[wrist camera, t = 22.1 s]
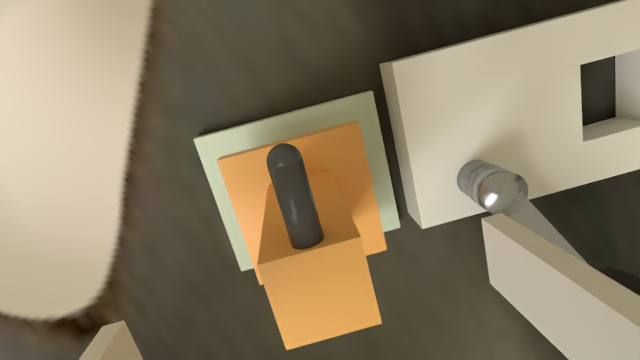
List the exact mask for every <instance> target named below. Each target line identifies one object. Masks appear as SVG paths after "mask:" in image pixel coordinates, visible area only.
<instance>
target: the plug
mask: <svg viewBox="0 0 640 360" xmlns="http://www.w3.org/2000/svg"><path fill="white" fill-rule="evenodd" d="M217 163H218V166H219V169H220V172H221V175H222V178H223V180H224V183H225V186H226V189H227V192H228V195H229V198H230V201H231V203H232V206H233V209H234V212H235V215H236V218H237V221H238V223H239V226H240V229H241V232H242V235H243V238H244V241H245V243H246V246H247V249H248V252H249V255H250V258H251V261H252V264H253V266H254V269H255V272H256V275H257V278H258V281H259V284H260V285H262V284H264V287H265V289H266V292H267V295H268V298H269V301H270V304H271V307H272V310H273V313H274V316H275V318H276V321H277V324H278V327H279V330H280V333H281V336H282V339H283V342H284V344H285V347H286V350H289V349H293V348H297V347H300V346H304V345H307V344H311V343H314V342H318V341H321V340H325V339H329V338H332V337H336V336H339V335H343V334H346V333H350V332H354V331H357V330H361V329H364V328H368V327H371V326H375V325H378V324H382V321H381V317H380V313H379V309H378V305H377V301H376V296H375V292H374V288H373V284H372V280H371V276H370V272H369V267H368V263H367V259H366V256H367V255H370V254H374V253H378V252H381V251H385V250H387V247H386V242H385V238H384V233H383V229H382V224H381V220H380V215H379V211H378V206H377V202H376V197H375V193H374V188H373V183H372V179H371V174H370V170H369V165H368V161H367V156H366V152H365V147H364V143H363V138H362V134H361V129H360V125H359V122H358V121H356V120H355V121H351V122H347V123H343V124H340V125H336V126H332V127H329V128H325V129H321V130H317V131H314V132H310V133H306V134H303V135H299V136H295V137H291V138H288V139H284V140H280V141H276V142H273V143H269V144H265V145H262V146H258V147H254V148H250V149H247V150H243V151H239V152H236V153H232V154H228V155H224V156H221V157H219V158H218V160H217Z"/></svg>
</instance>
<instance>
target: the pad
mask: <svg viewBox="0 0 640 360" xmlns="http://www.w3.org/2000/svg"><path fill="white" fill-rule="evenodd" d="M355 120H356V121H358V122H359V125H360V129H361V134H362V138H363V143H364V147H365V152H366V156H367V161H368V165H369V170H370V174H371V179H372V183H373V188H374V193H375V197H376V202H377V206H378V211H379V215H380V220H381V224H382V229H383V232H386V231H390V230H394V229H397V228H401V227H400V222H399V217H398V212H397V208H396V203H395V198H394V193H393V188H392V183H391V178H390V173H389V168H388V163H387V158H386V154H385V149H384V144H383V139H382V134H381V129H380V124H379V119H378V114H377V109H376V105H375V100H374V95H373V91H366V92H362V93H359V94H355V95H351V96H347V97H344V98H340V99H336V100H332V101H329V102H325V103H321V104H317V105H314V106H310V107H306V108H302V109H299V110H295V111H291V112H288V113H284V114H280V115H276V116H273V117H269V118H265V119H261V120H258V121H254V122H250V123H246V124H243V125H239V126H235V127H231V128H228V129H224V130H220V131H217V132H213V133H209V134H205V135H202V136H198V137H196V138H195V139H194V142H195V145H196V148H197V150H198V153H199V156H200V159H201V161H202V164H203V167H204V170H205V173H206V175H207V178H208V181H209V184H210V186H211V189H212V192H213V195H214V197H215V200H216V203H217V206H218V208H219V211H220V214H221V217H222V219H223V222H224V225H225V228H226V231H227V233H228V236H229V239H230V242H231V244H232V247H233V250H234V253H235V255H236V258H237V261H238V264H239V266H240V269H241V271H245V270H248V269H252V268H254V266H253V264H252V261H251V258H250V255H249V252H248V249H247V246H246V243H245V241H244V238H243V235H242V232H241V229H240V226H239V223H238V221H237V218H236V215H235V212H234V209H233V206H232V203H231V201H230V198H229V195H228V192H227V189H226V186H225V183H224V180H223V178H222V175H221V172H220V169H219V166H218V163H217V160H218V158H219V157H221V156H224V155H228V154H232V153H236V152H239V151H243V150H247V149H250V148H254V147H258V146H262V145H265V144H269V143H273V142H276V141H280V140H284V139H288V138H291V137H295V136H299V135H303V134H306V133H310V132H314V131H317V130H321V129H325V128H329V127H332V126H336V125H340V124H343V123H347V122H351V121H355Z"/></svg>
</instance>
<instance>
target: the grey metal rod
mask: <svg viewBox="0 0 640 360" xmlns="http://www.w3.org/2000/svg"><path fill="white" fill-rule="evenodd" d="M467 192H468V195H469V197H470V198H471V200H472V201H474V202H475V203H477V204H478V205H480V206H481V207H483V208H484V209H485V210H487V211H488V212H490V213H491V214H493V215H495V214H499V213H502V214H504V215H506V216H507V217H509V218H511V219H512V220H514V221H516V222H517V223H519V224H521V225H522V226H524V227H526V228H527V229H529V230H531V231H532V232H534V233H536V234H537V235H539V236H541V237H542V238H544V239H546V240H547V241H549V242H551V243H552V244H554V245H556V246H557V247H559V248H561V249H562V250H564V251H566V252H567V253H569V254H571V255H572V256H574V257H576V258H577V259H579V260H581V261H582V262H584V263H586V264H587V265H588V263H587V262H586V261H585V260H584V259H583V258H582V257H581V256H580V255H579V254H578V253H577V252H576V251H575V249H574V248H573V247H572V246H571V245H570V244H569V243H568V242H567V241H566V240H565V239H564V238H563V237H562V236H561V234H560V233H559V232H558V231H557V230H556V229H555V228H554V227H553V226H552V225H551V224H550V223H549V222H548V220H547V219H546V218H545V217H544V216H543V215H542V214H541V213H540V212H539V211H538V210H537V209H536V208H535V207H534V205H533V204H532V203H531V202H530V201H529V200H528V199H527V197H528V185H527V183H526V181H525V179H524V178H523V177H521V176H520V175H518V174H516V173H513V172H511V171H509V170H506V169H504V168H502V167H500V166H497V165H493V164H489V165H484V166H481V167H479V168H478V169H476V170H475V171H474V172H473V173H472V175H471V176H470V178H469V180H468V184H467Z"/></svg>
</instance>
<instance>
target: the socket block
mask: <svg viewBox="0 0 640 360" xmlns="http://www.w3.org/2000/svg"><path fill="white" fill-rule="evenodd" d="M611 56H615V93H616V117H615V118H611V119H607V120H604V121H600V122H596V123H593V124H589V125H585V126H582V102H581V74H580V65H582V64H585V63H589V62H593V61H597V60H600V59H604V58H608V57H611ZM379 66H380V71H381V76H382V81H383V86H384V92H385V97H386V102H387V107H388V112H389V117H390V122H391V128H392V133H393V138H394V143H395V148H396V153H397V158H398V163H399V169H400V174H401V179H402V184H403V189H404V194H405V199H406V205H407V210H408V213H409V214H410V216H411V217H412V218H413V219H414V220H415V221H416V222H417V223H418V224H419V226H420V227H421V228H422V229H424V228H428V227H432V226H435V225H439V224H442V223H446V222H450V221H453V220H457V219H460V218H464V217H468V216H471V215H475V214H479V213H482V212H486V211H487V210H485V209H484V208H483V207H481V206H480V205H478V204H477V203H475V202H474V201H472V200H471V198H470V197H469V195H468V192H467V184H468V180H469V178H470V176H471V175H472V173H473V172H474V171H475V170H476V169H478V168H479V167H481V166H484V165H489V164H493V165H497V166H500V167H502V168H504V169H506V170H509V171H511V172H513V173H516V174H518V175H520V176H521V177H523V178H524V179H525V181H526V183H527V185H528V197H527V199H528V200H529V199H533V198H537V197H540V196H544V195H547V194H551V193H555V192H558V191H562V190H565V189H569V188H573V187H576V186H580V185H584V184H587V183H591V182H594V181H598V180H602V179H605V178H609V177H613V176H616V175H620V174H623V173H627V172H631V171H634V170H638V169H640V0H619V1H615V2H611V3H607V4H604V5H600V6H596V7H592V8H589V9H585V10H581V11H577V12H574V13H570V14H566V15H562V16H559V17H555V18H551V19H547V20H544V21H540V22H536V23H532V24H529V25H525V26H521V27H517V28H514V29H510V30H506V31H502V32H499V33H495V34H491V35H487V36H483V37H480V38H476V39H472V40H468V41H465V42H461V43H457V44H453V45H450V46H446V47H442V48H438V49H435V50H431V51H427V52H423V53H420V54H416V55H412V56H408V57H405V58H401V59H397V60H393V61H390V62H386V63H382V64H379Z"/></svg>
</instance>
